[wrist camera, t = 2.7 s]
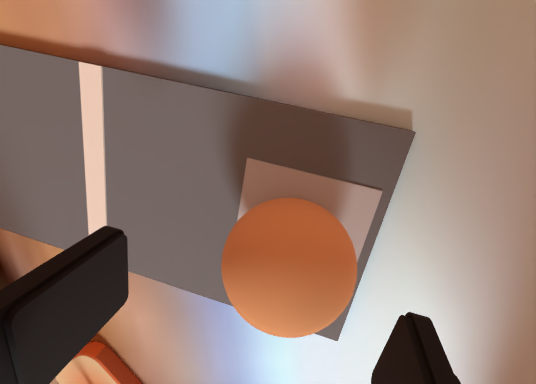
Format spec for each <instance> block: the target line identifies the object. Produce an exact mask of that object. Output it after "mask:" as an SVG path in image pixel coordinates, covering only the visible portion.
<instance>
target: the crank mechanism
mask: <svg viewBox="0 0 536 384" xmlns="http://www.w3.org/2000/svg"><path fill="white" fill-rule="evenodd" d="M56 379H57V381H58V382H59V383H60V384H142V383H141V382H140V381H139V380H138V379H137V378H136V377H135V375H134V374H133V373H132V372H131V371H130V370H129V369H128V368H127V367H126V365H125V364H124V363H123V362H122V361H121V360H120V359H119V358H118V356H117V355H116V354H115V353H114V352H113V351H112V350H111V349H110V348H109V347H108V346H106V345H104V344H102V343H100V342H91V343H88V344H87V345H85V346H84V347H83V348H82V350H81V351H80V352H79V353H78V354H77V355H76V356H75V357H74V358H73V359H72V360H71V361H70V362H69V363H68V364H67V365H66V366H65V368H64V369H63V370H62V371H61V372H60V373H59V374H58V375H57V376H56Z"/></svg>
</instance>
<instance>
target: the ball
mask: <svg viewBox="0 0 536 384" xmlns="http://www.w3.org/2000/svg"><path fill="white" fill-rule="evenodd" d="M221 270H222V279H223V284H224V287H225V290H226V293H227V296H228V298H229V300H230V302H231V303H232V305H233V306H234V308H235V309H236V311H237V312H238V313H239V314H240V315H241V316H242V317H243V318H244V319H245V320H246V321H247V322H248V323H249V324H251V325H252V326H254V327H255V328H257V329H259V330H261V331H263V332H265V333H268V334H271V335H274V336H279V337H287V338H295V337H302V336H306V335H310V334H313V333H316V332H318V331H320V330H322V329H324V328H325V327H327V326H329V325H330V324H331V323H332V322H334V321H335V320H336V319H337V318H338V316H339V315H340V314H341V313H342V312H343V311H344V309H345V308H346V306H347V305H348V303H349V301H350V299H351V297H352V295H353V291H354V288H355V284H356V279H357V259H356V254H355V249H354V246H353V243H352V241H351V238H350V237H349V235H348V233H347V231H346V229H345V228H344V227H343V225H342V224H341V222H340V221H339V220H338V219H337V218H336V217H335V216H334V215H332V214H331V213H330V212H329V211H327V210H326V209H325V208H323V207H321V206H320V205H318V204H315V203H313V202H310V201H307V200H304V199H299V198H277V199H272V200H269V201H266V202H263V203H261V204H259V205H257V206H255V207H253V208H252V209H250V210H249V211H248V212H246V213H245V214H244V215H243V216H242V217H241V218H240V219H239V220H238V221H237V223H236V224H235V225H234V227H233V228H232V230H231V232H230V233H229V235H228V237H227V240H226V242H225V245H224V249H223V253H222V263H221Z"/></svg>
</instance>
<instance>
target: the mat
mask: <svg viewBox="0 0 536 384" xmlns="http://www.w3.org/2000/svg"><path fill="white" fill-rule="evenodd" d="M415 133H416V132H414V131H411V130H406V129H401V128H396V127H392V126H387V125H382V124H377V123H373V122H368V121H363V120H358V119H354V118H349V117H344V116H339V115H335V114H330V113H325V112H320V111H316V110H311V109H306V108H301V107H297V106H292V105H287V104H282V103H277V102H273V101H268V100H263V99H258V98H254V97H249V96H244V95H239V94H235V93H230V92H225V91H220V90H216V89H211V88H206V87H201V86H197V85H192V84H187V83H182V82H178V81H173V80H168V79H163V78H158V77H154V76H149V75H144V74H139V73H135V72H130V71H125V70H120V69H116V68H111V67H106V66H101V65H97V64H92V63H87V62H82V61H78V60H73V59H68V58H63V57H59V56H54V55H49V54H44V53H40V52H35V51H30V50H25V49H20V48H16V47H11V46H6V45H1V44H0V228H1V229H4V230H7V231H10V232H13V233H16V234H19V235H22V236H25V237H28V238H31V239H34V240H37V241H40V242H43V243H46V244H49V245H52V246H55V247H58V248H61V249H64V250H66V249H68V248H69V247H71V246H72V245H74V244H76V243H77V242H79V241H80V240H82V239H84V238H85V237H87V236H88V235H90V234H92V233H93V232H95V231H96V230H98V229H100V228H101V227H103V226H110V227H114V228H117V229H121V230H123V232H124V235H126V236H127V242H128V271H130V272H133V273H136V274H139V275H142V276H145V277H148V278H151V279H153V280H156V281H159V282H162V283H165V284H168V285H171V286H174V287H177V288H180V289H183V290H186V291H189V292H192V293H195V294H198V295H201V296H204V297H207V298H210V299H213V300H216V301H219V302H222V303H225V304H228V305H231V306H233V305H232V303H231V302H230V300H229V298H228V296H227V293H226V290H225V287H224V284H223V279H222V270H221V263H222V253H223V249H224V245H225V242H226V240H227V237H228V235H229V233H230V232H231V230H232V228H233V227H234V225H235V224H236V223H237V221H238V220H239V219H240V218H241V217H242V216H243V215H244V214H245V213H246V212H248V211H249V210H250V209H252V208H253V207H255V206H257V205H259V204H261V203H263V202H266V201H269V200H272V199H277V198H299V199H304V200H307V201H310V202H313V203H315V204H318V205H320V206H321V207H323V208H325V209H326V210H327V211H329V212H330V213H331V214H332V215H334V216H335V217H336V218H337V219H338V220H339V221H340V222H341V224H342V225H343V227H344V228H345V229H346V231H347V233H348V235H349V237H350V238H351V241H352V243H353V246H354V249H355V254H356V259H357V279H356V284H355V288H354V291H353V295H352V297H351V299H350V301H349V303H348V305H347V306H346V308H345V309H344V311H343V312H342V313H341V314H340V315H339V316H338V318H337V319H336V320H335V321H334V322H332V323H331V324H330V325H329V326H327V327H325V328H324V329H322V330H320V331H318V332H316V333H315V334H317V335H320V336H323V337H326V338H329V339H332V340H335V341H338V339H339V336H340V333H341V331H342V328H343V325H344V323H345V320H346V317H347V315H348V312H349V309H350V306H351V304H352V301H353V298H354V296H355V293H356V290H357V288H358V285H359V282H360V280H361V277H362V274H363V272H364V269H365V266H366V264H367V261H368V258H369V256H370V253H371V250H372V248H373V245H374V242H375V240H376V237H377V234H378V232H379V229H380V226H381V224H382V221H383V218H384V216H385V213H386V210H387V208H388V205H389V202H390V200H391V197H392V194H393V192H394V189H395V186H396V184H397V181H398V178H399V176H400V173H401V170H402V168H403V165H404V162H405V159H406V157H407V154H408V151H409V149H410V146H411V143H412V141H413V138H414V135H415Z"/></svg>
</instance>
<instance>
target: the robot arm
mask: <svg viewBox="0 0 536 384" xmlns="http://www.w3.org/2000/svg"><path fill="white" fill-rule="evenodd" d="M127 298H128V242H127V236H126V235H124V232H123V230H121V229H117V228H114V227H110V226H103V227H101V228H100V229H98V230H96V231H95V232H93V233H92V234H90V235H88V236H87V237H85V238H84V239H82V240H80V241H79V242H77V243H76V244H74V245H72V246H71V247H69V248H68V249H66V250H64V251H63V252H61V253H60V254H58V255H56V256H55V257H53V258H51V259H50V260H48V261H47V262H45V263H43V264H42V265H40V266H39V267H37V268H35V269H34V270H32V271H31V272H29V273H27V274H26V275H24V276H23V277H21V278H19V279H18V280H16V281H15V282H13V283H11V284H10V285H8V286H7V287H5V288H3V289H2V290H0V384H49V383H50V382H51V381H52V380H53V379H54V378H55V377H56V376H57V375H58V374H59V373H60V372H61V371H62V370H63V369H64V368H65V366H66V365H67V364H68V363H69V362H70V361H71V360H72V359H73V358H74V357H75V356H76V355H77V354H78V353H79V352H80V351H81V350H82V348H83V347H84V346H85V345H86V344H87V343H88V342H89V341H90V340H91V339H92V338H93V337H94V336H95V335H96V334H97V333H98V331H99V330H100V329H101V328H102V327H103V326H104V325H105V324H106V323H107V322H108V321H109V320H110V319H111V318H112V317H113V316H114V315H115V313H116V312H117V311H118V310H119V309H120V308H121V307H122V306H123V305H124V304H125V302H126V300H127ZM371 384H461V383H460V381H459V379H458V378H457V376H456V375H455V374H454V373H453V371H452V368H451V366H450V363H449V361H448V359H447V356H446V354H445V352H444V349H443V347H442V344H441V342H440V340H439V337H438V335H437V333H436V330H435V328H434V325H433V323H432V321H431V319H430V318H428V317H425V316H422V315H418V314H415V313H411V312H408V313H407V314H406V315H405V316H404V315H401V316H400V317H399V318H398V320H397V322H396V325H395V327H394V329H393V331H392V333H391V335H390V337H389V339H388V341H387V343H386V345H385V347H384V350H383V352H382V354H381V356H380V358H379V360H378V362H377V364H376V366H375V368H374V370H373V373H372V378H371Z"/></svg>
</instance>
